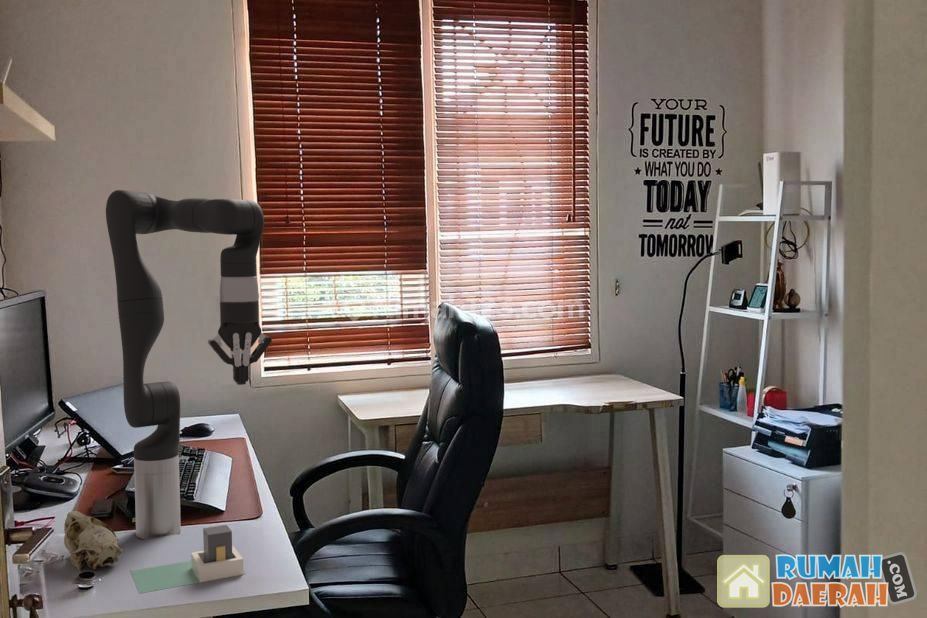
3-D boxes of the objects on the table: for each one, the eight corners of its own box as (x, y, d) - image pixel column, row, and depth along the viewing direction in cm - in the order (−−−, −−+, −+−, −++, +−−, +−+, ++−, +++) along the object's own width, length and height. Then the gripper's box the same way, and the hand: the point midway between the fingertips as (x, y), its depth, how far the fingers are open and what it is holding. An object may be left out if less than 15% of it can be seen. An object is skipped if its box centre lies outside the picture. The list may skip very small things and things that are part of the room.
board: (130, 576, 161) (130, 570, 161) (231, 558, 170) (231, 553, 170) (139, 598, 151) (139, 593, 150) (246, 578, 160) (246, 573, 159)
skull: (90, 539, 176) (94, 497, 173) (130, 579, 166) (134, 535, 163) (43, 554, 168) (46, 510, 165) (81, 596, 159) (85, 550, 156)
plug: (204, 569, 162) (203, 528, 161) (227, 565, 164) (226, 524, 163) (209, 578, 157) (208, 536, 157) (233, 573, 160) (232, 532, 159)
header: (191, 567, 162) (191, 552, 162) (233, 560, 166) (233, 545, 166) (199, 582, 155) (199, 566, 155) (243, 574, 159) (243, 558, 159)
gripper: (266, 297, 177) (268, 379, 178) (201, 299, 170) (204, 384, 172) (276, 299, 170) (278, 384, 171) (209, 301, 164) (211, 389, 165)
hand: (241, 384), depth 172 cm, fingers closed
